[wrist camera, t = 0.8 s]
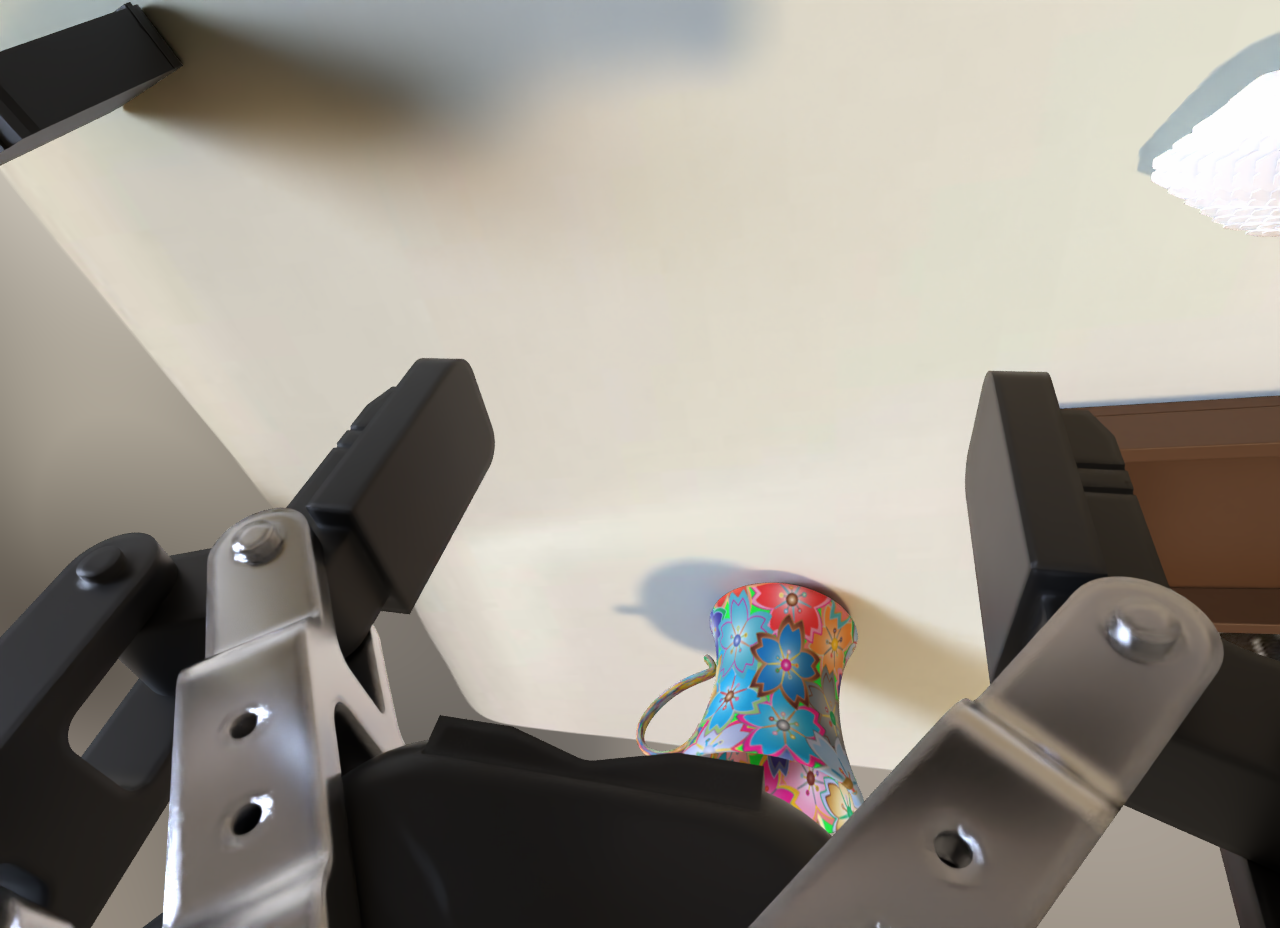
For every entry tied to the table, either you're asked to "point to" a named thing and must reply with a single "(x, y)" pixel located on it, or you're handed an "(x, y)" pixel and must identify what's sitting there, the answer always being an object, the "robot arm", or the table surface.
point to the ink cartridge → (77, 77)
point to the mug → (777, 696)
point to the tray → (1210, 500)
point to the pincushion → (1232, 161)
